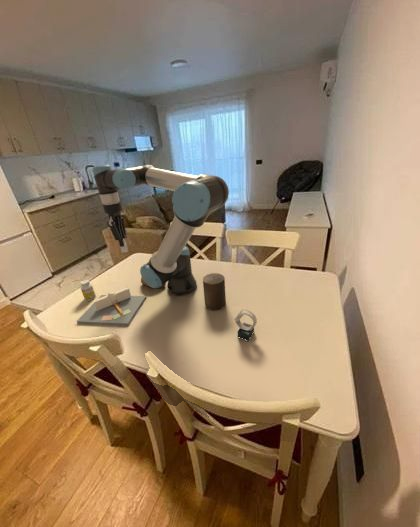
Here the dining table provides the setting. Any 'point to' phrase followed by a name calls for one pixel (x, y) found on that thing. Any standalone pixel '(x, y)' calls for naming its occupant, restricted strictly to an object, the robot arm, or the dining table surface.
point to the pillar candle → (214, 291)
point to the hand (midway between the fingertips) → (125, 251)
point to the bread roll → (148, 285)
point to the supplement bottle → (87, 290)
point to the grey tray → (113, 312)
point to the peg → (112, 299)
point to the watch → (245, 324)
